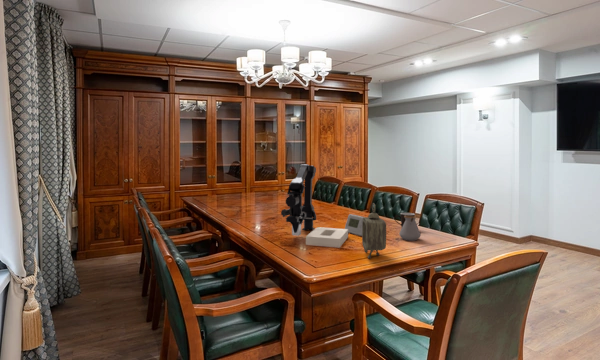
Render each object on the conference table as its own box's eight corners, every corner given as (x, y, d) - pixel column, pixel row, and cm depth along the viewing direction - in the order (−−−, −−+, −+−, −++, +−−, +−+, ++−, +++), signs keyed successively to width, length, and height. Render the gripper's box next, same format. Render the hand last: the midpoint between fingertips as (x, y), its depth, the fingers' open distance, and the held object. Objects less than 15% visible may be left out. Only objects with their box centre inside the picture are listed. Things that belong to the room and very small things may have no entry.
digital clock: (343, 231, 228) (343, 214, 228) (356, 230, 232) (356, 213, 231) (356, 237, 214) (357, 218, 213) (370, 236, 217) (370, 217, 216)
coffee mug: (416, 229, 235) (416, 213, 234) (412, 231, 228) (412, 215, 227) (397, 227, 241) (398, 211, 240) (393, 229, 234) (393, 213, 233)
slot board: (317, 234, 219) (317, 227, 219) (348, 237, 214) (348, 229, 214) (305, 244, 197) (305, 236, 196) (339, 247, 191) (339, 238, 191)
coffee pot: (398, 236, 216) (399, 210, 215) (419, 237, 214) (420, 211, 213) (400, 245, 196) (401, 217, 194) (423, 247, 193) (424, 218, 192)
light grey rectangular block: (294, 233, 213) (294, 223, 212) (301, 234, 212) (301, 223, 211) (292, 235, 209) (292, 224, 209) (298, 235, 208) (298, 225, 207)
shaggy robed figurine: (361, 251, 185) (362, 200, 182) (380, 251, 184) (381, 201, 182) (366, 260, 170) (367, 205, 168) (386, 260, 170) (387, 205, 168)
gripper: (288, 201, 220) (288, 227, 222) (277, 206, 202) (277, 234, 204) (306, 202, 217) (306, 228, 218) (296, 207, 199) (296, 236, 200)
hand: (296, 231), depth 210 cm, fingers closed on light grey rectangular block, 4 cm apart
